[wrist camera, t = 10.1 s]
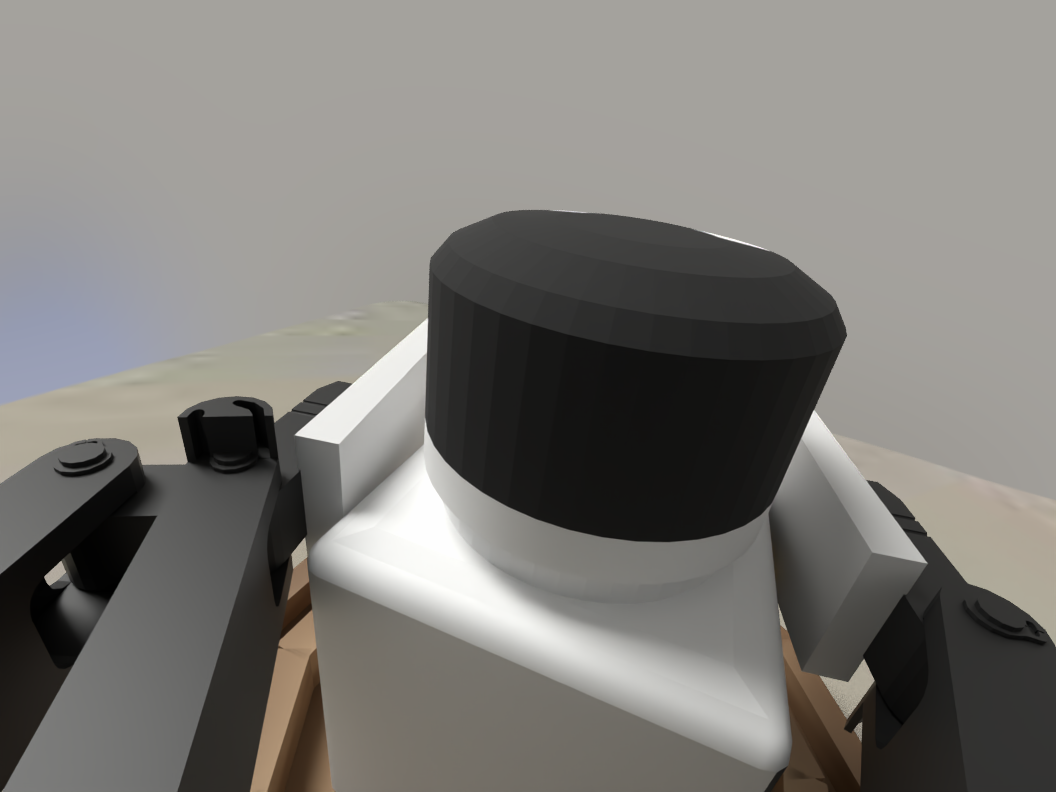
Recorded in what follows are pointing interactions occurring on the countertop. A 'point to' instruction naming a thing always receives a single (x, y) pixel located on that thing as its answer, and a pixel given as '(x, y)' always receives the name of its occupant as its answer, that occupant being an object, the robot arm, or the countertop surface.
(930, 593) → the robot arm
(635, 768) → the medicine bottle
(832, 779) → the walnut tray
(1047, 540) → the countertop surface
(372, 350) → the countertop surface
